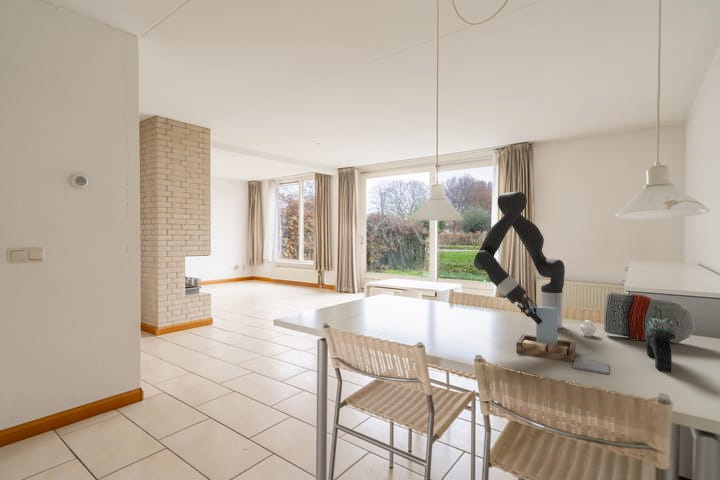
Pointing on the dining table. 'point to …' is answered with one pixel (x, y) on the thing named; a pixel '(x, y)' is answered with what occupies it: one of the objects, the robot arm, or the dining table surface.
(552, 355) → the rack
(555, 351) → the offcut short
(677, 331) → the grey red knit hat
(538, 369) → the dining table surface
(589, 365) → the mat
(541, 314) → the pale blue tall prism
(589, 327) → the white rounded lump
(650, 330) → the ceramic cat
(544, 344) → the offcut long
